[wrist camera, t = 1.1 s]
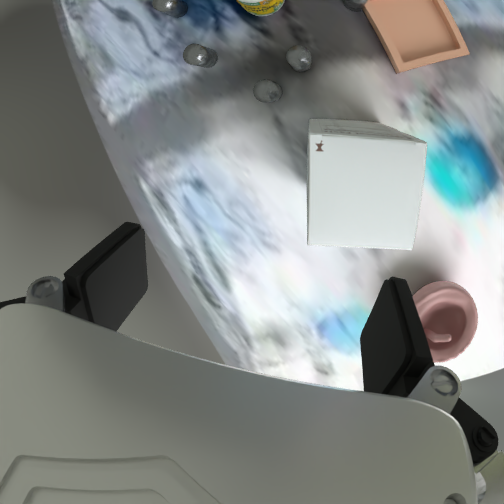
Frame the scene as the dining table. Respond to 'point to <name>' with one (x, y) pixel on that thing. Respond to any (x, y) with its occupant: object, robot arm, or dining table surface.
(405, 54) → the dish
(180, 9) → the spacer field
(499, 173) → the dining table surface
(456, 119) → the dining table surface
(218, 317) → the dining table surface
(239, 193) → the dining table surface
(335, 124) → the supplement box
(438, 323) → the mortar and pestle
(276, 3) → the supplement bottle
